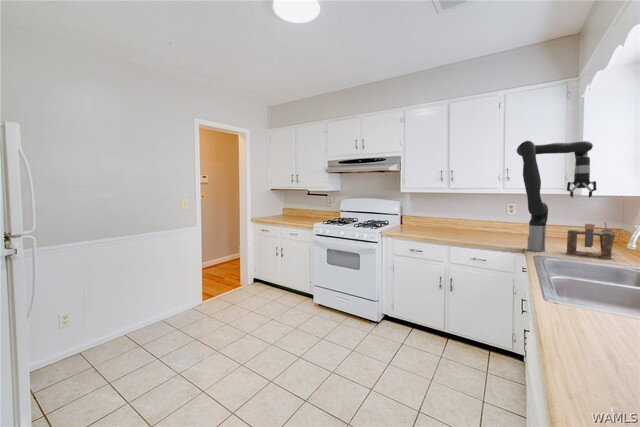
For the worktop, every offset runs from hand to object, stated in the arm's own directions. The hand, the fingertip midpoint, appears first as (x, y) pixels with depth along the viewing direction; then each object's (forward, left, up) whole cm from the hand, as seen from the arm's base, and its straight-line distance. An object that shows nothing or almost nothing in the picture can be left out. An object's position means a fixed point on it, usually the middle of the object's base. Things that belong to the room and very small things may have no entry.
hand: (580, 197), depth 190 cm
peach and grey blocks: (+6, -12, -30) cm, 33 cm away
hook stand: (+6, -12, -36) cm, 39 cm away
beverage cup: (+13, +5, -36) cm, 39 cm away
